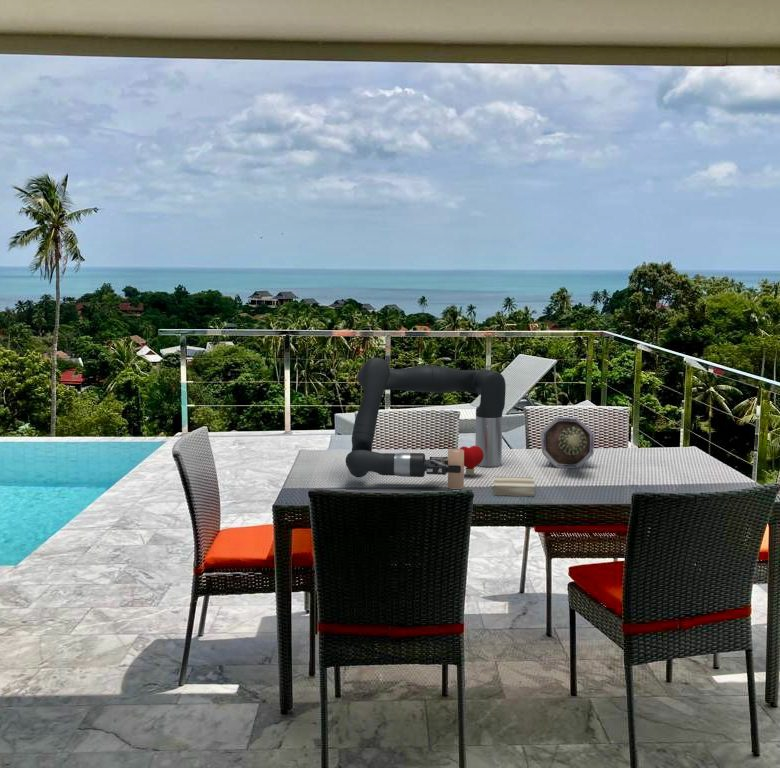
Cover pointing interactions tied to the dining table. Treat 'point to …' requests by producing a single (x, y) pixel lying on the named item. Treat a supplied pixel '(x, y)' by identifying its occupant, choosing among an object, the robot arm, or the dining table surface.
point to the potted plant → (567, 442)
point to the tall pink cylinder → (456, 459)
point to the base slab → (514, 486)
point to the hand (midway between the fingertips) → (461, 466)
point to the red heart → (472, 458)
